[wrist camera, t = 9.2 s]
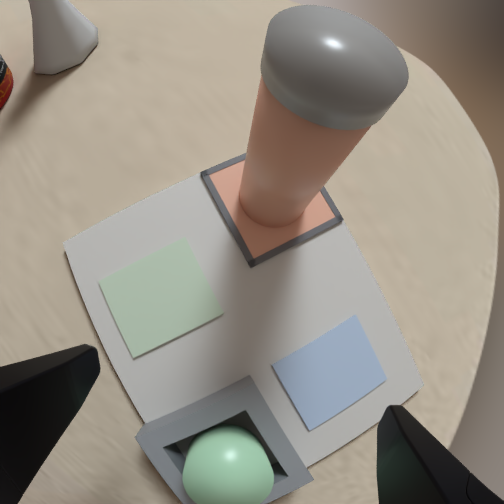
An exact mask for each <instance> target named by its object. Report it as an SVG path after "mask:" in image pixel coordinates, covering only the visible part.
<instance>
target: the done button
mask: <svg viewBox="0 0 504 504" xmlns="http://www.w3.org/2000/svg"><path fill="white" fill-rule="evenodd" d="M182 480H183V485H184V488H185V491H186V493H187V494H188V495H189V497H190V498H191V499H192V500H193V501H194V502H195V503H197V504H260V503H262V502H263V501H264V500H265V499H266V498H267V496H268V495H269V494H270V492H271V490H272V487H273V484H274V474H273V470H272V467H271V465H270V462H269V460H268V457H267V455H266V452H265V450H264V447H263V445H262V443H261V441H260V440H259V439H258V437H257V436H256V435H255V434H253V433H252V432H251V431H249V430H247V429H245V428H243V427H240V426H237V425H232V424H220V425H214V426H211V427H209V428H207V429H205V430H203V431H201V432H199V433H198V434H197V435H196V436H195V437H194V438H193V439H192V441H191V442H190V444H189V447H188V451H187V456H186V460H185V465H184V470H183V476H182Z"/></svg>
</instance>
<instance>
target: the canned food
mask: <svg viewBox="0 0 504 504" xmlns="http://www.w3.org/2000/svg"><path fill="white" fill-rule="evenodd" d="M12 88H13V77H12V73H11V71H10V69H9V68H8V66H7V64H6V63H5V61H4V60H3V58H2V56H1V55H0V109H1V108H2V106H3V105H4V103H5V102H6V100H7V99H8V97H9V95H10V93H11V91H12Z"/></svg>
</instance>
